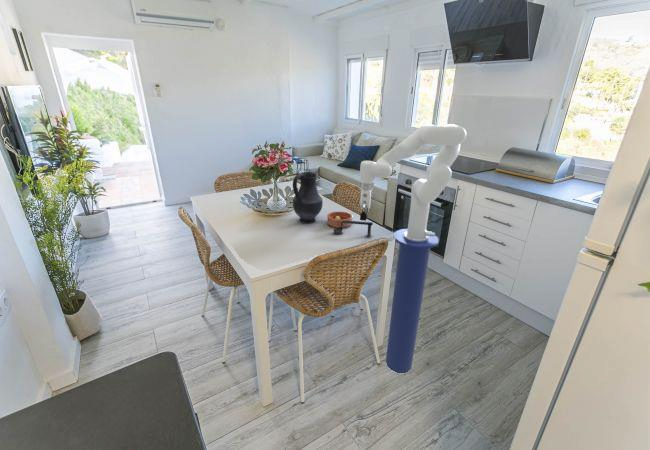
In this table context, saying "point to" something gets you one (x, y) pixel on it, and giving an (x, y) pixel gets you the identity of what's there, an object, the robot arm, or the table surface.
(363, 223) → the black lever handle
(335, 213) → the bowl
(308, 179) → the pitcher
